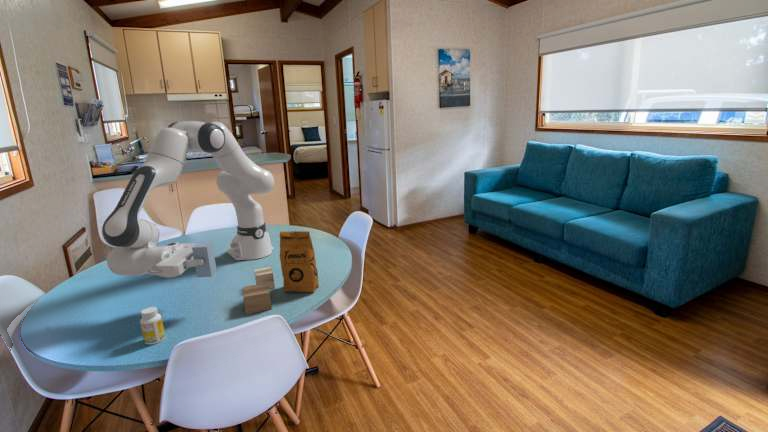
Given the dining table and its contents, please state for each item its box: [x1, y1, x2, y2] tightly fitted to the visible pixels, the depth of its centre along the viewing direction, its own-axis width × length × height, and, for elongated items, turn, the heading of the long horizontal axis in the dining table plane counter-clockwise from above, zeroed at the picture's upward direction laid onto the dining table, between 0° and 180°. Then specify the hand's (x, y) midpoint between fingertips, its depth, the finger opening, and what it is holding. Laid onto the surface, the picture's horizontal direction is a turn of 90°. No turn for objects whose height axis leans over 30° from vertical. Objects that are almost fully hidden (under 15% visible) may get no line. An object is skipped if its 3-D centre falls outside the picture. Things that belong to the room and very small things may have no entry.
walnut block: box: [242, 283, 273, 315], centre depth 132 cm, size 8×8×6 cm
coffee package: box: [279, 230, 320, 293], centre depth 141 cm, size 10×12×22 cm
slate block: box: [192, 241, 218, 278], centre depth 127 cm, size 4×4×10 cm
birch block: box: [253, 266, 276, 290], centre depth 147 cm, size 6×6×6 cm
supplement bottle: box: [139, 306, 166, 346], centre depth 114 cm, size 5×5×10 cm
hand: (207, 257), depth 127 cm, fingers closed on slate block, 4 cm apart
